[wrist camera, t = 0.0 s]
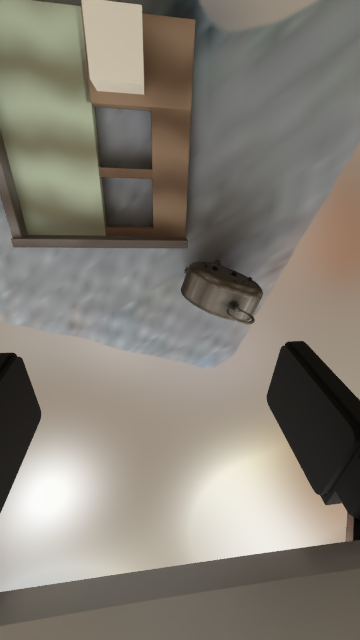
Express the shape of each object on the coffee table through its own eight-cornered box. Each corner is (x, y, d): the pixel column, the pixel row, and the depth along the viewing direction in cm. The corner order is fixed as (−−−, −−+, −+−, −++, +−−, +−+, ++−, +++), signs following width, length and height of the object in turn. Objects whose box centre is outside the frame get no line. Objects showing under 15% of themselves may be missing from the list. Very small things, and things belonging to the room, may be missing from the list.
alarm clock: (175, 278, 41) (190, 332, 27) (186, 246, 38) (210, 287, 24) (234, 295, 43) (275, 352, 30) (248, 266, 41) (300, 314, 27)
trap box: (-34, 3, 24) (-69, -29, 20) (192, 29, 27) (199, 5, 23) (28, 239, 35) (13, 247, 31) (183, 240, 38) (187, 248, 34)
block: (90, 22, 24) (81, -3, 21) (142, 28, 25) (141, 5, 21) (97, 90, 27) (89, 78, 23) (144, 94, 27) (144, 83, 24)
